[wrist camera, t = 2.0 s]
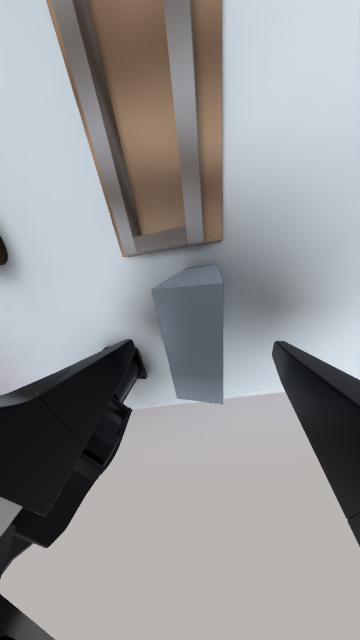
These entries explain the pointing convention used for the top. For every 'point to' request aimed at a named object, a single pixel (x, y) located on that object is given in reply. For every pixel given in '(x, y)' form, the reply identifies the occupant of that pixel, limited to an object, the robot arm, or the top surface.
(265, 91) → the top surface
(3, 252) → the coffee mug
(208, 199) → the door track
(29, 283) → the top surface
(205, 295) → the grey flat block
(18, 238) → the top surface
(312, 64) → the top surface
